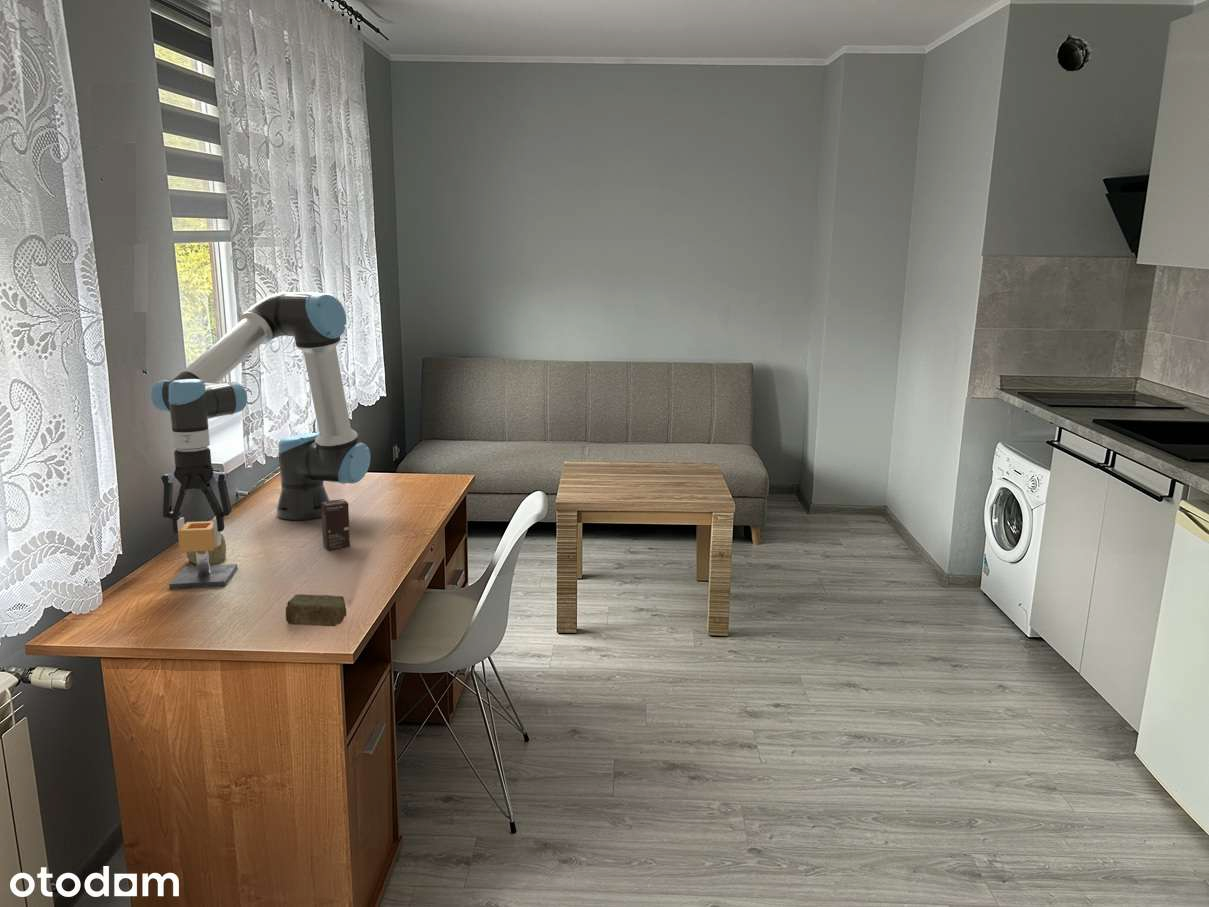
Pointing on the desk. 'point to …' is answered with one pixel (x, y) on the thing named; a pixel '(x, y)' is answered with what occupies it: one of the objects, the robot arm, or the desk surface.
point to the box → (335, 524)
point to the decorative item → (211, 553)
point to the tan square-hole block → (196, 536)
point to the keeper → (203, 574)
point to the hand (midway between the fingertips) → (200, 545)
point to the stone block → (316, 610)
